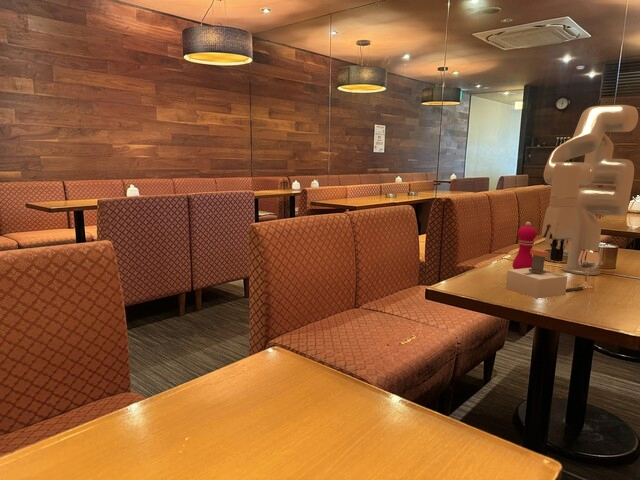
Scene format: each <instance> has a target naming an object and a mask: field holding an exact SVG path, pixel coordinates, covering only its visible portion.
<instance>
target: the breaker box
mask: <svg viewBox="0 0 640 480" xmlns="http://www.w3.org/2000/svg"><path fill="white" fill-rule="evenodd" d="M529 269H532V268H523V269H514V268H513V269H507V274H506V283H505V284H506V285H505V289H507V290H510V291H513V292H515V291H516V293H518V292H519V294H521V293H522V294H521V295H524V294H525V295H524V296H527V295H528V297H530V296H531V297H530V298H533V297H534V299H535V300H539V299H538V298H541V299H547V298H546V297H548V298H554V297H553V296H555V297H560V296H561V295H562V296H566V294H567V293H573V291H574V292H579V291H580V292H581V291H583V290H584V287H580V286H575V287H568V288H567V284H568V283H567V282H568V276H567V275H564V274H561V273H556V272H553V271H550V270H546V269H543V270H544V271H546V273H540V274H538V273H534V272H531V271H529ZM562 296H561V297H562Z"/></svg>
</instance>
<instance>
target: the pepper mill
mask: <svg viewBox="0 0 640 480" xmlns="http://www.w3.org/2000/svg"><path fill="white" fill-rule="evenodd" d="M517 236H518V238H519V239H518V244H519V245H518V246H519V248H518V252H517V254H516V255H515V258H514V259H513V261H512V266H511V267H512V268H513V269H523V268H532V261H533V254H530V251H531V249H533V246H534V245H535V239H536V238H537V236H538V234H537V230H536V228H535V227H533V226H532V223H531V222H530V221H526V222H525V225H524V226H521V227H520V228H519V229H518V231H517Z"/></svg>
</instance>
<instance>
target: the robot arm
mask: <svg viewBox="0 0 640 480" xmlns="http://www.w3.org/2000/svg"><path fill="white" fill-rule="evenodd" d="M638 121H639V112H638V110H637V108H636V106H632V105H627V104H612V105H611V104H610V105H609V104H606V105H595V106H594V105H593V106H590V107H588V108H586V109H585V110H583V111H582V114H581V116H580V117H579V120H578V123H577V126H576V128H575V131H574V133H573V136H572V137H571V138H570V139H568V140H566V141H564V142H563V143H561V144H560V145H558V146H557V147H555V149H554V150H552V152H551V153H550V155H549V157H548V159H547V162H546V165H545V167H544V170H543V179H544V181H545V183H546V184H548V185H551V189H550V197H549V204H548V206H547V208H546V210H545V213H544V214H545V215H544V217H543V222H542V230H541V238H544V242H545V243H547V244H548V245H549V246H550V248H551V249H550V250H551V251H550V256H549V259H550V260H551V261H554V262H562V261H563V260H564V259H563V257H564V253H565V252H564V251H565V249H566V247H567V244H569V246H568V252H567V253H568V254H567V261H566V264H564V265H562V266H561V270H562V271H564V272H567V273H571V274H577V275H583V276H586V275H585V272H586V270H585V269H583V268H582V267H580V265H579V256H580V253H581V251H582V250H595V251H598V252H599V250H600V249H599V248H600V241H601V240H600V239H601V232H602V224H601V222H600V220H599V219H598V217H597V216H596V215H601V216H602V215H604V216H618V217H619V216H623V215H625V214H626V213H627V211H628V208H629V203H630V198H631V192H632V187H633V182H634V176H635V166H634V163H633V161H632V160H630V159H626V158H613V155H614V148H615V147H614V143H613V141H612V140H611V139H610V138H609V136H608V135H607V134H606V133H620V132H621V133H628V132H631V131H633V130H634V129H635V128H636V126H637V125H638ZM582 156H584V160H583V162H573V161H568V160H572V159H574V158H578V157H582ZM589 185H595V186H598V185H599V186H614V187H615V188H609V187H607V188H605V187H590V186H589ZM587 186H589V187H587ZM603 265H604V262H603V260H599V264H598V266H597V267H596V268H595V269H592V270H588V271H589V274H588V276H598V275H600V274H601V270H600V269H598V267H599V266H603Z"/></svg>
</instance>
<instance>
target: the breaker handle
mask: <svg viewBox="0 0 640 480" xmlns="http://www.w3.org/2000/svg"><path fill="white" fill-rule="evenodd" d="M549 253H550V252H549V250H544V249H540V248H532V249H531V251H530V254H532V256H533V261H532V269H529V271H531V272H534V273H538V274H540V273H546V271H547V270H546V271H544V270H545V268H544V267H545V260H546V258H545V257H549Z"/></svg>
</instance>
